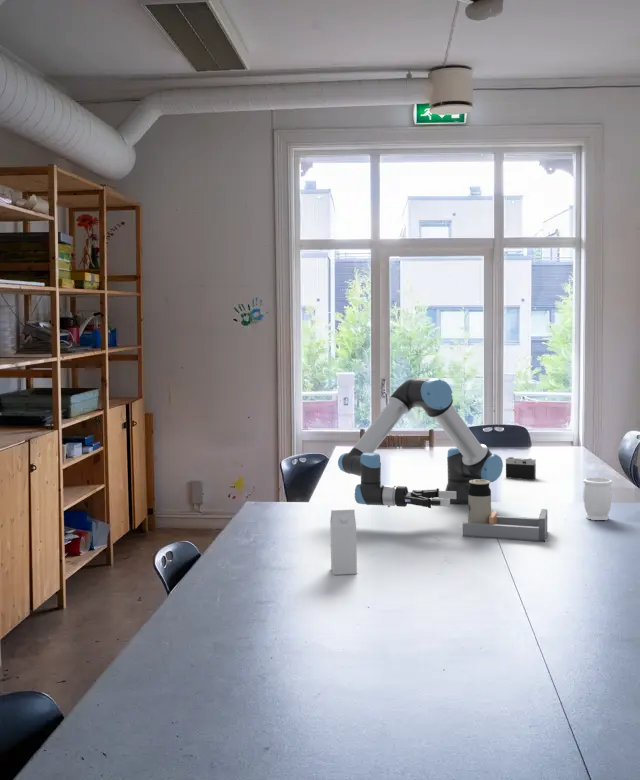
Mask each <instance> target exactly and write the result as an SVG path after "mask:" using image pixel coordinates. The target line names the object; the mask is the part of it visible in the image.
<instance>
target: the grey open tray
mask: <svg viewBox="0 0 640 780" xmlns="http://www.w3.org/2000/svg"><path fill="white" fill-rule="evenodd" d="M467 519H468V520H467V521H468V522H465V521H464V522H463V523H462V537H464V538H465V537H467V538H482V539H496V540H508V541H509V540H510V541H511V540H512V541H513V540H514V541H528V542H540V543H541V542H542V543H545V542H546V539H547V535H548V509H547V508H546V509H545V508H541V510H540V513H539V516H538V517H524V516H523V517H522V516H508V515H507V516H506V515H504V516H503V515H497V524H483V523H469V514H468V515H467Z"/></svg>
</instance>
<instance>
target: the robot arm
mask: <svg viewBox="0 0 640 780" xmlns="http://www.w3.org/2000/svg"><path fill="white" fill-rule="evenodd" d="M453 403H454V399H453V390H452V388H451V385H450V384H449V383H448V382H447V381H445V380H444V379H440V378H436V377H429V378H428V377H426V378H425V377H411V378H409V379H406V380H405V381H404V382H403V383H401V384H400V386H398V387H397V388H396V389H395V390H394V392H392V394H391V395H390V397H389V398H388V403H387V404H386V406H385V407H383V409H382V411H380V413H379V414H378V416H376V418H375V419H374V420H373V422H372V423H371V425H370V426H369V428H367V430H366V431H365V432H364V433H363V434H362V436H361V437H360V439H359V440H358V441H357V442H356V444H355V445H354V446H353V447H352V449H351V450H350V451H349V452H346V453H342V454H341V455H339V457H338V460H337V465H338V468H339V469H340V471H342V472H343V473H346V474H348V475H349V474H350V475H353V476H354V475H355V476H358V477H360V483H359V484H357V485H356V486H355V489H354V499H355V500H354V501H356V503H357V504H359V505H366V506H387V508H390V507H395V506H397V507H400V508H401V507H403V508H405V507H407V505H414V506H419V507H425V508H428V509H432V507H446V508H450V507H451V504H456V503H468V490H469V488H470V483H469V481H470V480H476V479H482V480H488V481H490V483H494V482H496V481H497V480H498V479H499V478H500V477H501V475H502V473H503V468H504V463H503V459H502V458H501V456H500V455H498V454H496V453H492V451H490V449H489V448H488V446H487V445H486V444H483V443H480V441H479V440H478V439H477V438H476V436H475V435H474V433H473V432H472V431H471V429H470V428H469V426H468V425H467V423H465V421H464V420H463V418H462V416H461V415H460V414H459V413H458V411H457V410H456V408H455V407H454V406H453V405H454V404H453ZM415 407H416V408H422V409H423V411H424V412H425V413H426V415H427V416H428V417H429V418H434V419H435V420H436V421H437V423H438V424H439V425H440V427H441V428H442V429H443V431H444V432H445V434H446V435H447V437H448V438H449V440H450V441H451V442H452V443H453V444H454V446H455V447H452V448H449V449H448V450H447V457H446V459H447V483H446V487H445V490H440V488H436V489H420V490H419V489H412V491H409V489H408V487H407V486H402V485H397V486H396V485H382V484H381V482H382V481H381V477H382V473H381V472H382V471H381V470H382V467H381V466H382V463H381V462H382V461H381V455H380V454H379V453H377V452H375V451H376V450H377V448H378V447H379V446H380V445H381V444H382V442H384V440H385V438H387V436H388V435H389V433H390V432H391V431H392V430H393V428H394V427H395V426H396V425H397V423H398V422H399V421H400V419H401V418H402V417H403V415H407V414H408V413H409V412H410V411H411V410H412V409H413V408H415Z"/></svg>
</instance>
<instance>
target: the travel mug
mask: <svg viewBox="0 0 640 780" xmlns="http://www.w3.org/2000/svg"><path fill="white" fill-rule="evenodd" d="M469 483H470V488H469V490H468V506H467V508H468V510H467V511H468V515H469V523H483V524H489V517H490V515H491V513H492V490H491V488H490V484H491V482H490V481H488V480H482V479H476V480H470V481H469Z"/></svg>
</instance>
